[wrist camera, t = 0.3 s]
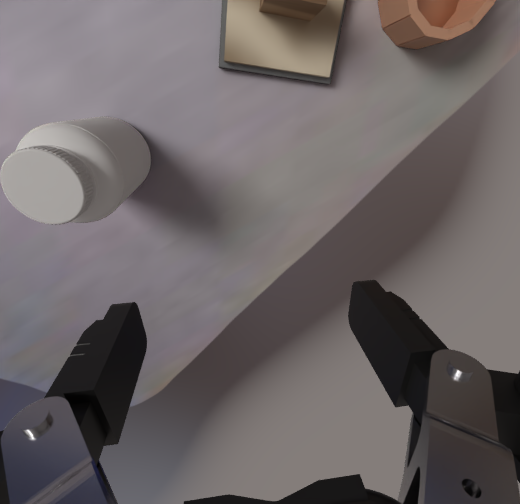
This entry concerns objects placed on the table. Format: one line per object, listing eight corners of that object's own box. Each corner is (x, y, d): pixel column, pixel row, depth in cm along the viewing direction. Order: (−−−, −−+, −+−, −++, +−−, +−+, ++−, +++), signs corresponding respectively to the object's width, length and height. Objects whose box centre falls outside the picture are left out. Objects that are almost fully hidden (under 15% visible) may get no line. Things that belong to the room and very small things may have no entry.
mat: (227, -95, 25) (227, -101, 24) (356, -63, 27) (359, -68, 26) (218, 67, 30) (218, 66, 30) (327, 84, 32) (330, 83, 32)
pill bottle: (68, 169, 33) (-35, 212, 20) (90, 101, 30) (-13, 96, 17) (137, 201, 36) (87, 258, 22) (163, 140, 33) (124, 164, 20)
